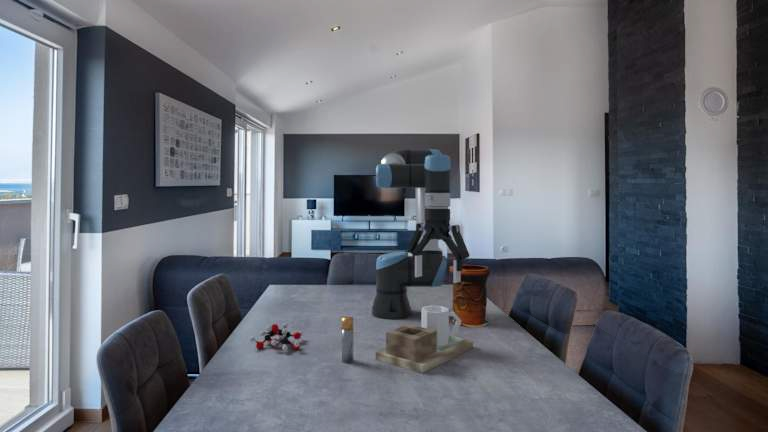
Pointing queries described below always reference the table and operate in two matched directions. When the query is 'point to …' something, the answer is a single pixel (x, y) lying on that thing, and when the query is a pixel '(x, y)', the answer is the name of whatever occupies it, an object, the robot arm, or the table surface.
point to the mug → (439, 322)
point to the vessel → (471, 295)
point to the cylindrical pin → (347, 339)
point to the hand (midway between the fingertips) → (437, 279)
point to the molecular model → (282, 335)
